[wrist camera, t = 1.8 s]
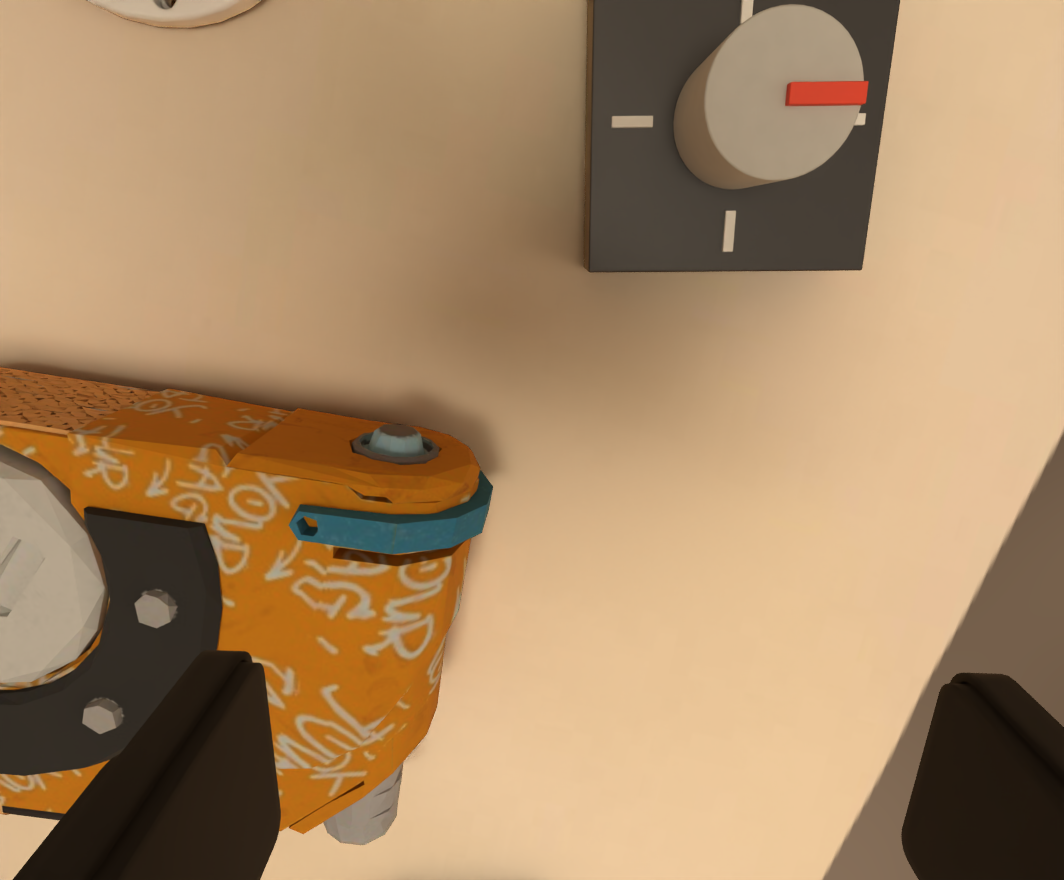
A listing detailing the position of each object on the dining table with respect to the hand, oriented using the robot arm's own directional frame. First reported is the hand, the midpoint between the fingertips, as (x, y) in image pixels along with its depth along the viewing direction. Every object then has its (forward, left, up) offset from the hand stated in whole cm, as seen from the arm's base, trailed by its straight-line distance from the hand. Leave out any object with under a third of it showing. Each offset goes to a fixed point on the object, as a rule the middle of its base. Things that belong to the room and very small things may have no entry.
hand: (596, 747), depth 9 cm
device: (+10, -19, -21) cm, 30 cm away
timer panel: (-10, +6, -20) cm, 24 cm away
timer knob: (-10, +6, -17) cm, 21 cm away
